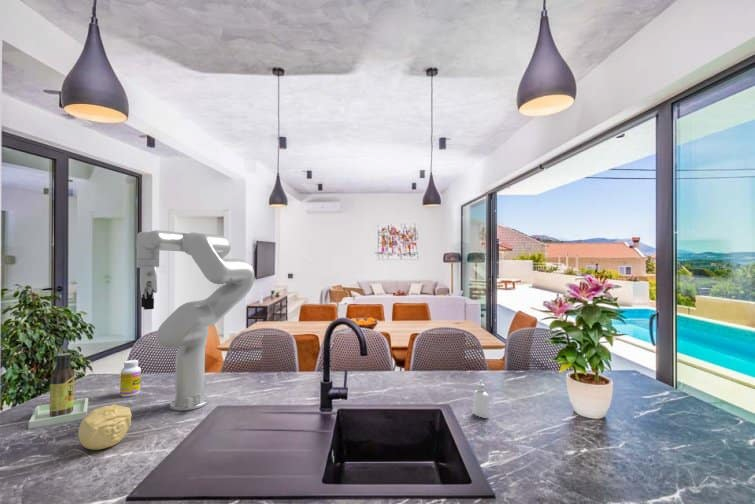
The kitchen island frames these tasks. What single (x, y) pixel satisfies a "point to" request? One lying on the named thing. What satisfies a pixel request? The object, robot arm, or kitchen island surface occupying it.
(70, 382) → the sauce bottle
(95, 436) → the sculpture
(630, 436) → the kitchen island surface
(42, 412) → the tray
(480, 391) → the eye dropper bottle
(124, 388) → the supplement bottle
